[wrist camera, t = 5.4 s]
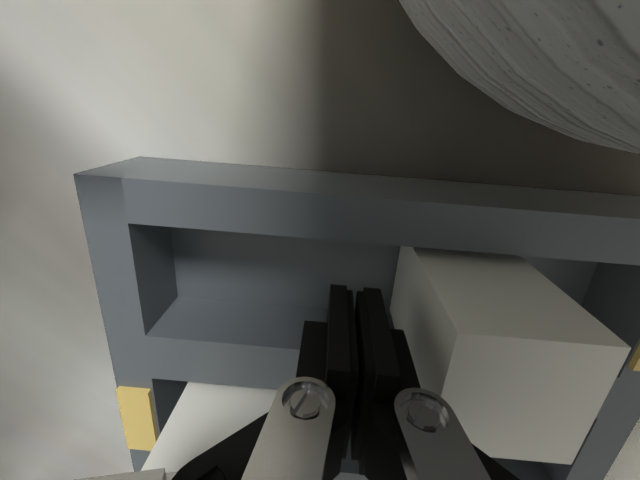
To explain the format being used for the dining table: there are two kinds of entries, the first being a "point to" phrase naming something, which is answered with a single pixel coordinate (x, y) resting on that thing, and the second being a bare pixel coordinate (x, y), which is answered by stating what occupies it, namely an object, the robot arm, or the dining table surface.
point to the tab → (505, 350)
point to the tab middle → (206, 421)
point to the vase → (546, 60)
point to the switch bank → (325, 274)
